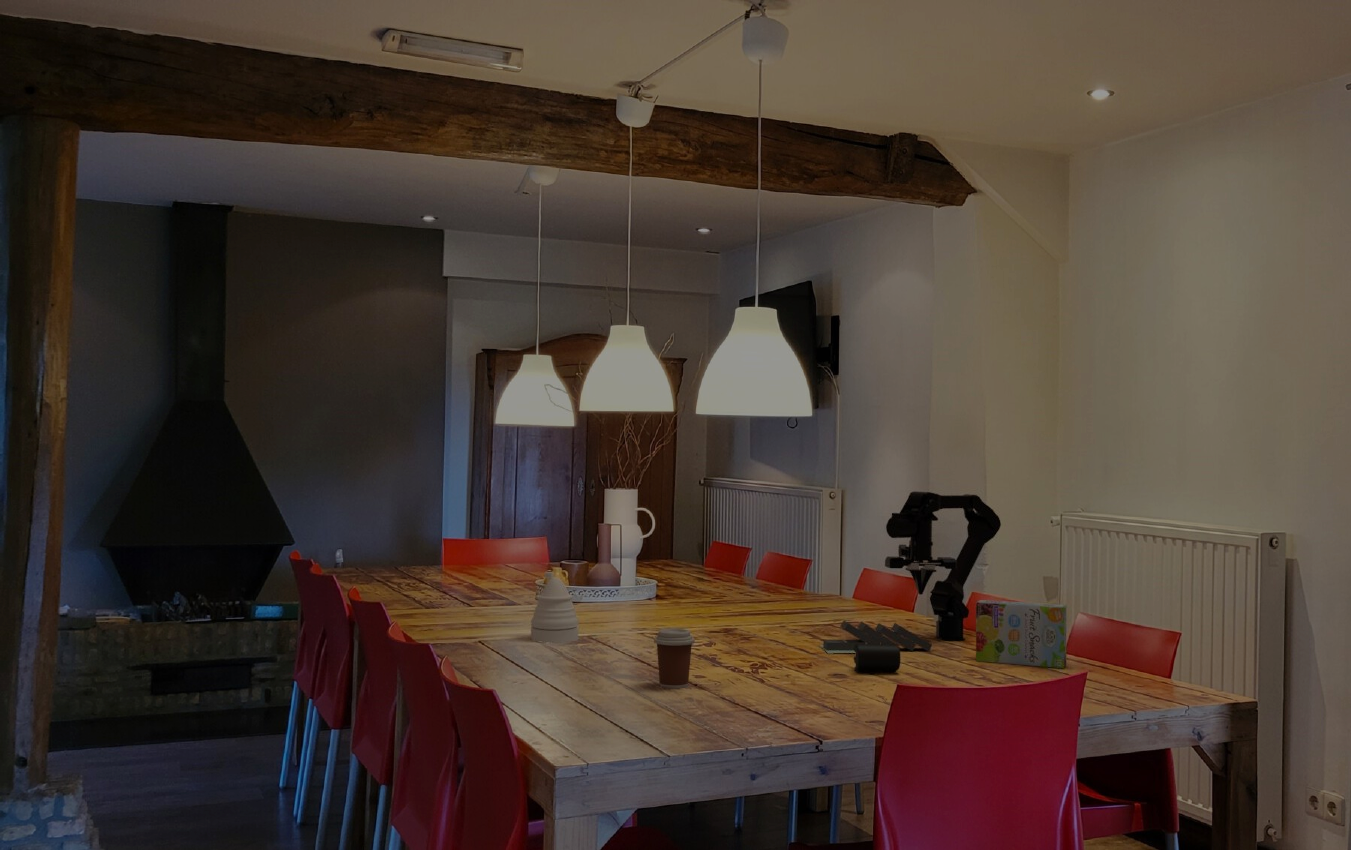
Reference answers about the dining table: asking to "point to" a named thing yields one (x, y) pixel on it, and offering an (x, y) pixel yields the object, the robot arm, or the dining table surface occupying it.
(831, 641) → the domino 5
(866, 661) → the end cap
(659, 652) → the coffee cup
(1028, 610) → the snack box
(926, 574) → the robot arm
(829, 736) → the dining table surface
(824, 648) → the mat
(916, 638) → the domino
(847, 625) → the domino
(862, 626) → the domino
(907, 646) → the domino
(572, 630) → the honey pot
